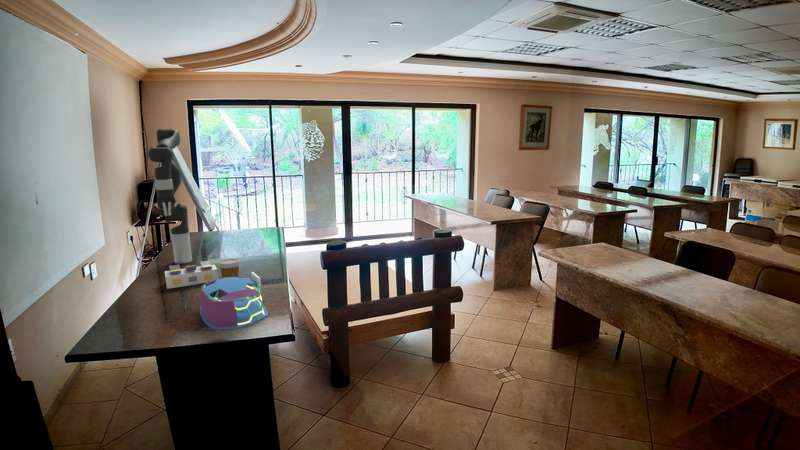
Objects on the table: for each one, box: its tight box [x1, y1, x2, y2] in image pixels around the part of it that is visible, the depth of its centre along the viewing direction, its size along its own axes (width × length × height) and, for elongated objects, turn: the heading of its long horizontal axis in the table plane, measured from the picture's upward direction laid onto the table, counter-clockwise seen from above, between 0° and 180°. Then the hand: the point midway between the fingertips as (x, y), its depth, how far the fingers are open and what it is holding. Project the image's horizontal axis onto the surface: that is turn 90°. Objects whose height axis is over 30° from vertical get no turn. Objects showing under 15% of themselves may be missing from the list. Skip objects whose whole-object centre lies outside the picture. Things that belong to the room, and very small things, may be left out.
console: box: [164, 264, 219, 290], centre depth 218 cm, size 10×23×7 cm, turn 120°
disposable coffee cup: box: [218, 258, 240, 279], centre depth 212 cm, size 10×10×12 cm
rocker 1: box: [169, 264, 181, 275], centre depth 213 cm, size 8×4×1 cm, turn 30°
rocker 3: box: [199, 259, 213, 270], centre depth 220 cm, size 8×4×1 cm, turn 30°
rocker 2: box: [184, 264, 197, 270], centre depth 217 cm, size 8×4×1 cm, turn 30°
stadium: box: [199, 271, 269, 330], centre depth 179 cm, size 35×24×14 cm
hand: (168, 222), depth 219 cm, fingers closed
